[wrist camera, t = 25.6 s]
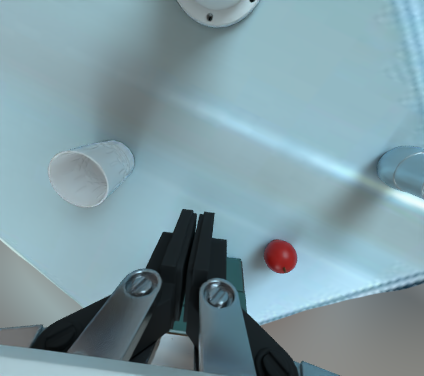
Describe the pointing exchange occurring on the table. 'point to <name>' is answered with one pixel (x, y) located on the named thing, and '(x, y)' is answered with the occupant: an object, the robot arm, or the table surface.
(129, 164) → the white cup
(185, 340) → the cabinet
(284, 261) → the apple
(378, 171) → the silver water bottle
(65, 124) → the table surface
